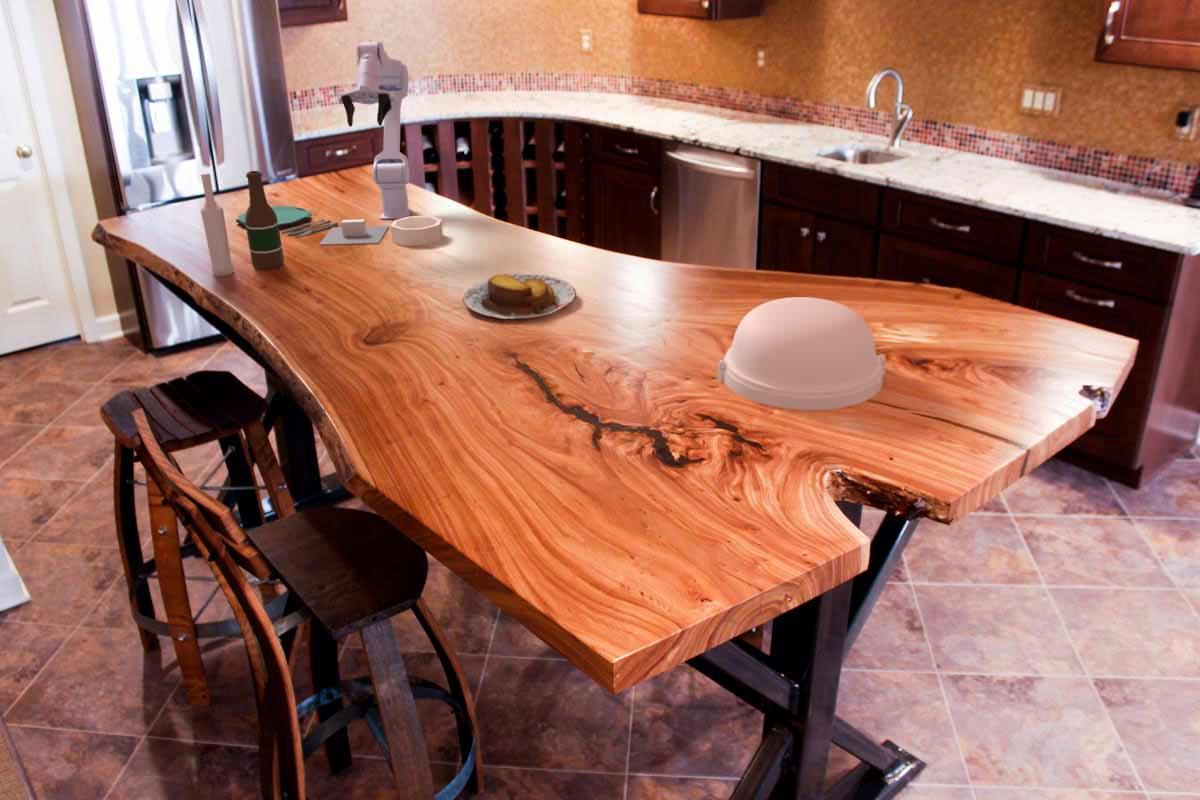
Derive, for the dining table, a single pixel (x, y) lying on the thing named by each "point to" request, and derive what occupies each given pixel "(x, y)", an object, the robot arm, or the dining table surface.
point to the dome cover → (803, 356)
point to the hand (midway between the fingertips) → (364, 123)
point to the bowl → (417, 230)
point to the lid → (354, 233)
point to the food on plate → (519, 295)
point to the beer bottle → (262, 227)
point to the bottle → (215, 231)
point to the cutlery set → (293, 220)
